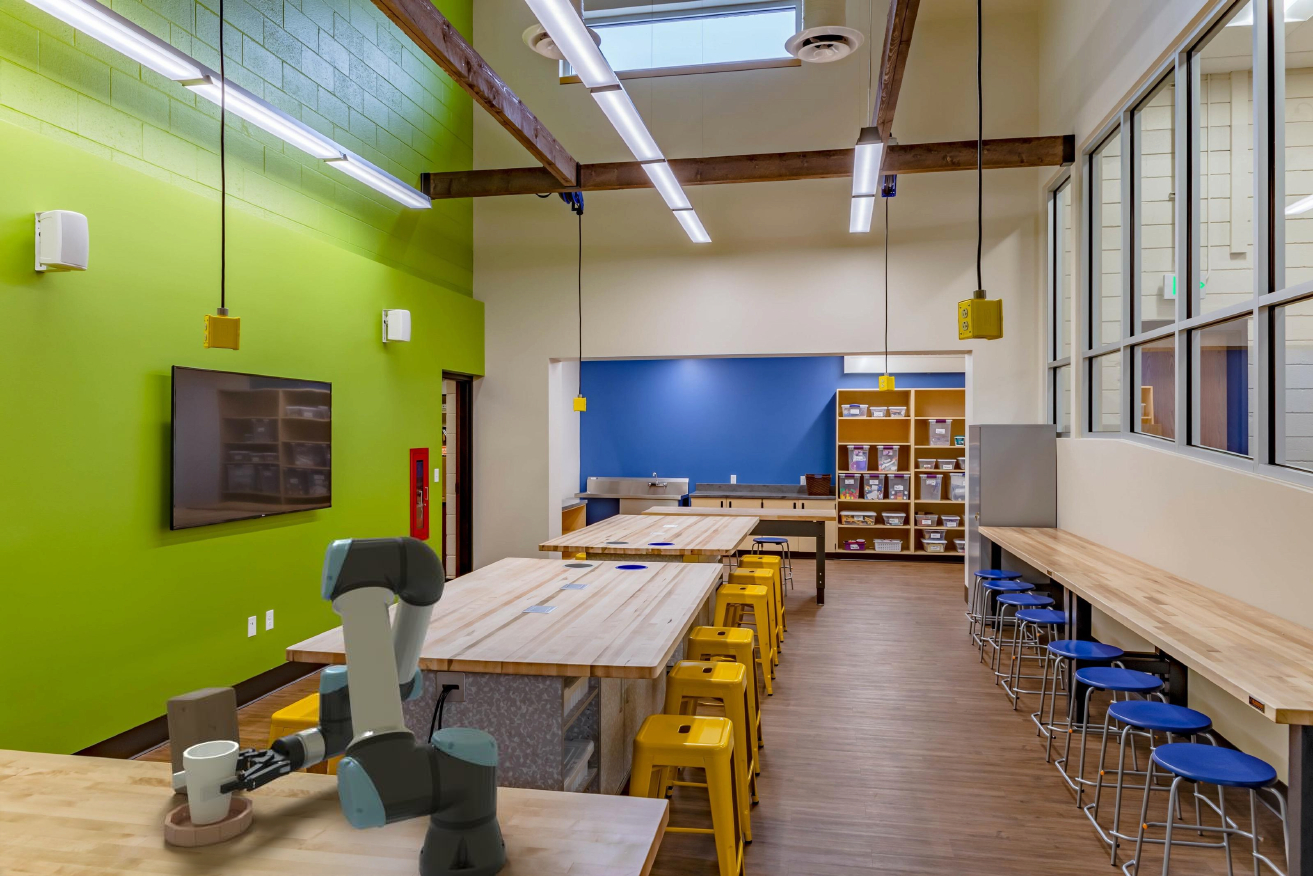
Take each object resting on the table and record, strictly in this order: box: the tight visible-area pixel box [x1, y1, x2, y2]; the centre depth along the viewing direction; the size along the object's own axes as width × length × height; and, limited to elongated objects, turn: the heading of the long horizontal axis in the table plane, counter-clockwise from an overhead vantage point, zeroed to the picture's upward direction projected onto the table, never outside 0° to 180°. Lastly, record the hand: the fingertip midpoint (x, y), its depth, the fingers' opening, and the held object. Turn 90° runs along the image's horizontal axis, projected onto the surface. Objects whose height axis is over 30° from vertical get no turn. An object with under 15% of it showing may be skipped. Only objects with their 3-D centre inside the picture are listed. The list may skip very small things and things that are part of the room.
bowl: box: [163, 795, 253, 848], centre depth 154 cm, size 15×15×3 cm
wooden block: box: [166, 686, 244, 794], centre depth 172 cm, size 10×10×20 cm
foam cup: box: [183, 741, 239, 824], centre depth 154 cm, size 10×9×13 cm
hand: (186, 788), depth 150 cm, fingers closed on foam cup, 9 cm apart
